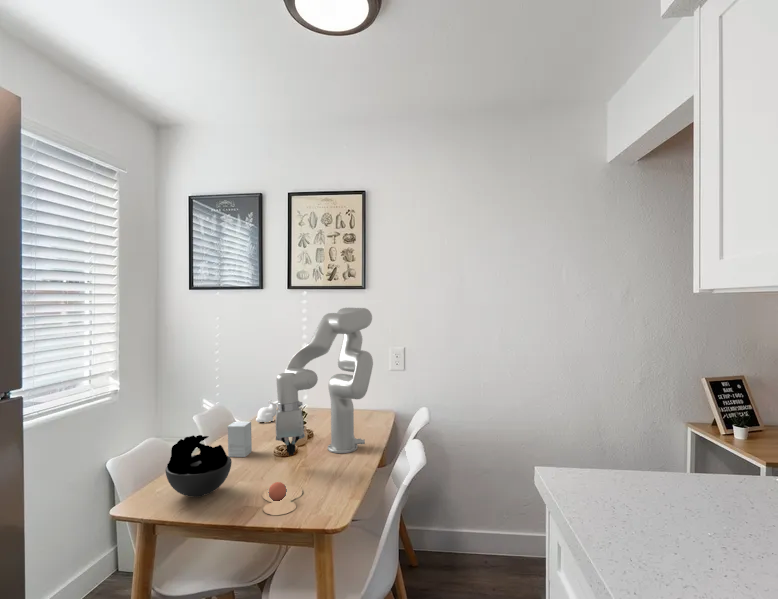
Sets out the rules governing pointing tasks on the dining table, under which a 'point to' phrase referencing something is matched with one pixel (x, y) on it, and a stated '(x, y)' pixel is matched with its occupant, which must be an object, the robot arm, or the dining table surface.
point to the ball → (277, 491)
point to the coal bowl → (197, 467)
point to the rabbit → (267, 412)
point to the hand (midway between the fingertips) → (291, 454)
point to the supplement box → (239, 439)
